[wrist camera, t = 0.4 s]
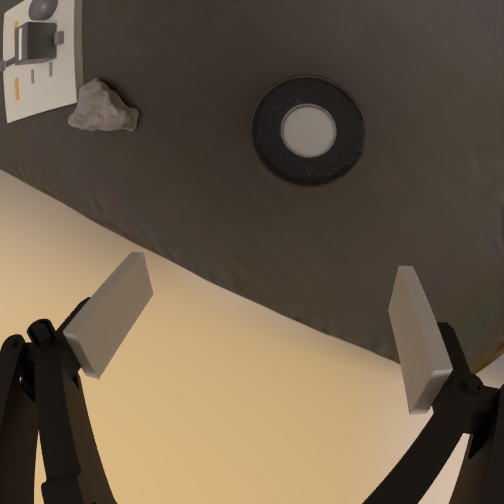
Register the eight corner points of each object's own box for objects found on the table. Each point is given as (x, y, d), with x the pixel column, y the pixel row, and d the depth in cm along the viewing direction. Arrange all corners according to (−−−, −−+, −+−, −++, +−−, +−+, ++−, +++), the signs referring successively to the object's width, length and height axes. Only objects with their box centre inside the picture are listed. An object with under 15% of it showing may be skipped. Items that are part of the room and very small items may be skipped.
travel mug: (264, 110, 37) (222, 131, 20) (308, 69, 33) (308, 48, 16) (307, 153, 39) (305, 212, 21) (352, 114, 35) (392, 139, 18)
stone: (93, 75, 37) (69, 77, 32) (149, 87, 37) (128, 88, 32) (83, 126, 41) (59, 133, 36) (136, 141, 42) (115, 150, 36)
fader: (42, 29, 31) (14, 28, 26) (55, 23, 31) (27, 21, 25) (42, 63, 34) (14, 65, 29) (55, 57, 34) (26, 59, 28)
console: (12, 13, 31) (-4, 13, 28) (84, -25, 28) (68, -30, 25) (15, 120, 42) (-1, 125, 38) (84, 100, 39) (68, 104, 36)
